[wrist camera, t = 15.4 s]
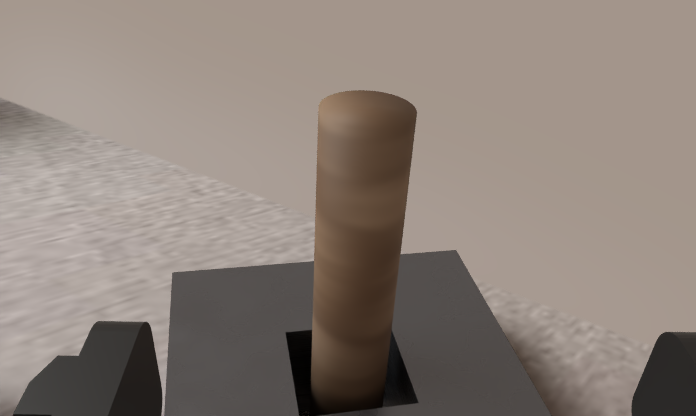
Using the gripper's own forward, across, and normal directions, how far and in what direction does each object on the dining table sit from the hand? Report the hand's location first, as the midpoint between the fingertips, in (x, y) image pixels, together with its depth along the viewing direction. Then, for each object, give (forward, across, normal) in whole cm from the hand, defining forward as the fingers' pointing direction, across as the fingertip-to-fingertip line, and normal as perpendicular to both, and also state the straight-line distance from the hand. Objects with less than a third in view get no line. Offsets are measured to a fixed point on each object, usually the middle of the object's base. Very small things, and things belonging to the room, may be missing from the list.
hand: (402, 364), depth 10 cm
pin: (+10, 0, +16) cm, 19 cm away
